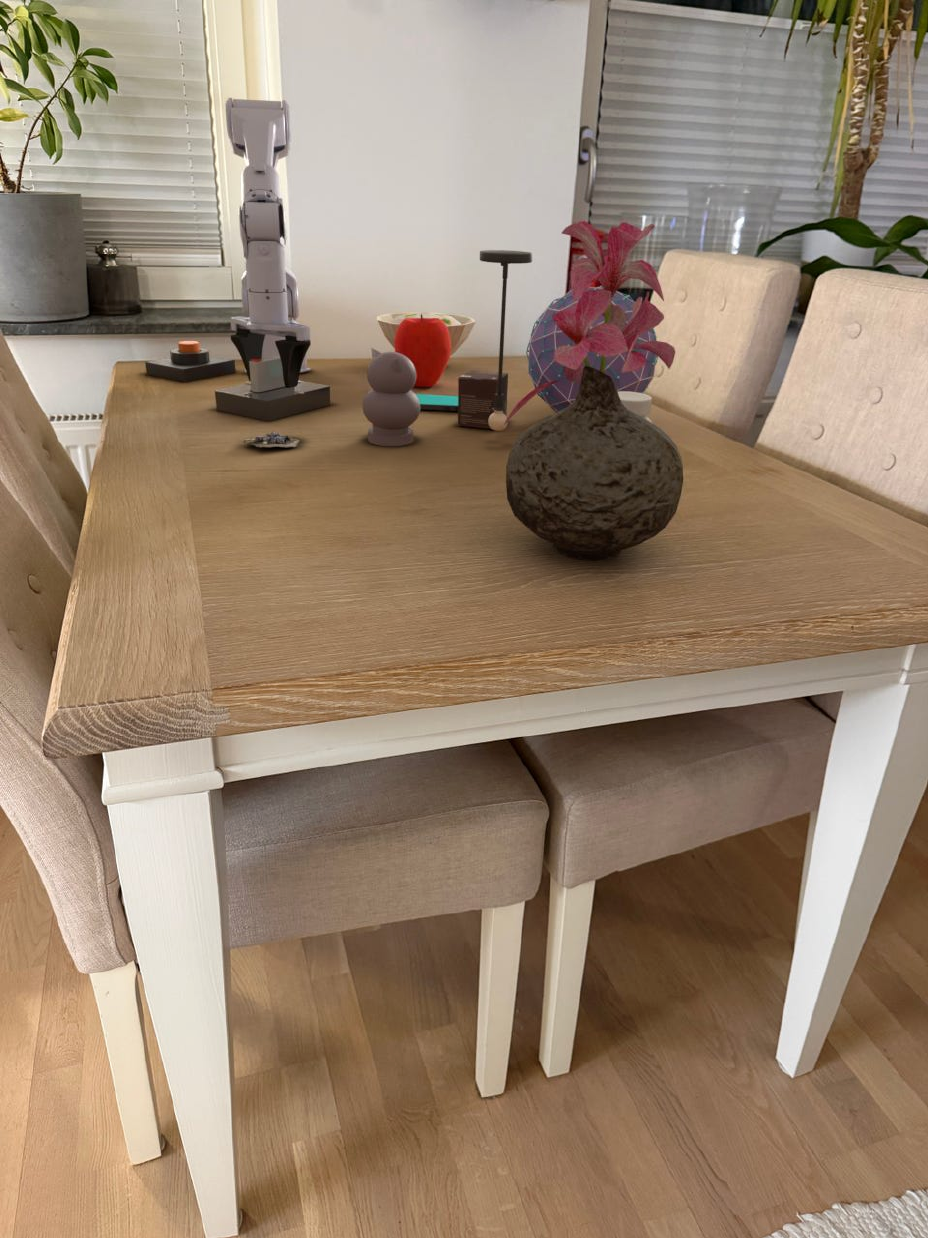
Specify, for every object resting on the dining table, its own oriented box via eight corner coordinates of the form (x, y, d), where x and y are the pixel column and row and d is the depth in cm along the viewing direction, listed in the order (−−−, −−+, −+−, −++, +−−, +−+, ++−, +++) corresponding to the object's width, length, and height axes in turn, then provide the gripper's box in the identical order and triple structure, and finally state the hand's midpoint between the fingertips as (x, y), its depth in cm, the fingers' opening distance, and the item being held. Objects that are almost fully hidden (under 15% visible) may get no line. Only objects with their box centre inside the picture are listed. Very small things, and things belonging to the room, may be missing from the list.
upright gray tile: (287, 383, 142) (285, 352, 140) (294, 384, 141) (293, 353, 139) (251, 391, 136) (248, 359, 134) (258, 392, 135) (256, 360, 133)
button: (190, 349, 163) (189, 339, 162) (204, 352, 161) (203, 342, 160) (174, 352, 160) (173, 342, 159) (188, 354, 158) (187, 344, 157)
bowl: (387, 355, 184) (387, 304, 180) (480, 360, 182) (482, 308, 178) (365, 372, 167) (364, 316, 163) (467, 378, 165) (469, 322, 160)
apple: (441, 378, 164) (442, 309, 159) (457, 390, 156) (459, 317, 150) (388, 380, 161) (388, 309, 156) (402, 392, 153) (402, 317, 147)
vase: (701, 549, 90) (752, 227, 77) (602, 600, 79) (641, 230, 66) (568, 509, 101) (593, 217, 87) (463, 548, 89) (473, 219, 76)
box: (507, 421, 136) (509, 372, 133) (495, 430, 131) (497, 380, 128) (469, 417, 138) (471, 369, 135) (456, 426, 133) (457, 376, 130)
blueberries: (233, 445, 120) (232, 431, 119) (280, 434, 125) (279, 421, 125) (265, 455, 116) (264, 441, 115) (312, 444, 122) (311, 430, 121)
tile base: (277, 394, 148) (276, 375, 147) (333, 405, 143) (332, 385, 141) (213, 409, 138) (211, 388, 136) (271, 421, 132) (270, 400, 130)
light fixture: (468, 439, 126) (474, 249, 115) (513, 438, 127) (524, 250, 116) (479, 452, 120) (487, 253, 109) (526, 451, 122) (539, 254, 111)
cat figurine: (431, 444, 123) (432, 355, 118) (380, 451, 120) (379, 359, 114) (401, 430, 130) (401, 345, 124) (352, 436, 126) (350, 348, 121)
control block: (197, 364, 169) (195, 343, 167) (235, 371, 164) (233, 349, 162) (146, 374, 160) (143, 351, 158) (184, 381, 155) (182, 358, 153)
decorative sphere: (610, 388, 120) (532, 272, 123) (550, 464, 138) (483, 360, 141) (709, 349, 129) (634, 241, 132) (641, 424, 147) (576, 328, 150)
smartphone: (401, 393, 148) (491, 397, 147) (401, 398, 148) (491, 402, 147) (394, 403, 141) (489, 407, 140) (394, 408, 141) (489, 412, 140)
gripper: (212, 288, 133) (220, 381, 139) (284, 297, 126) (290, 394, 132) (246, 285, 138) (253, 374, 144) (318, 293, 131) (321, 386, 137)
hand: (273, 383), depth 138 cm, fingers open, 7 cm apart
